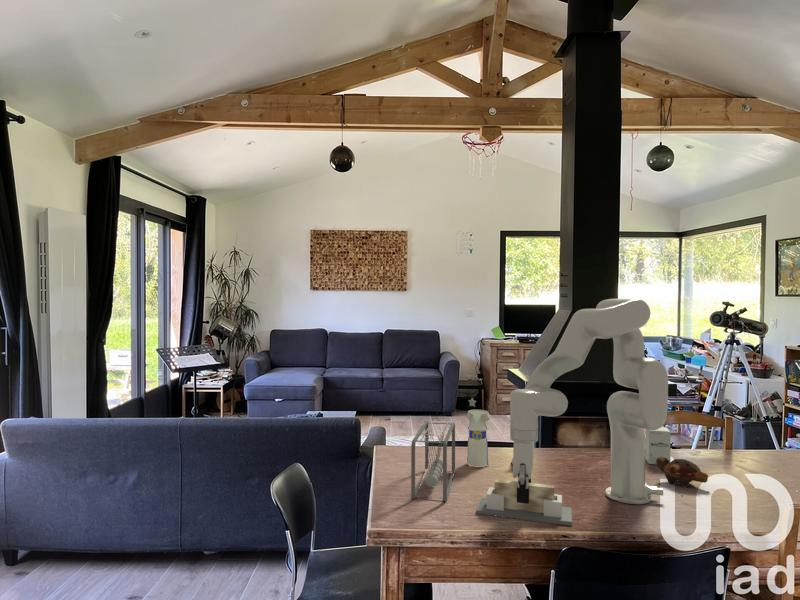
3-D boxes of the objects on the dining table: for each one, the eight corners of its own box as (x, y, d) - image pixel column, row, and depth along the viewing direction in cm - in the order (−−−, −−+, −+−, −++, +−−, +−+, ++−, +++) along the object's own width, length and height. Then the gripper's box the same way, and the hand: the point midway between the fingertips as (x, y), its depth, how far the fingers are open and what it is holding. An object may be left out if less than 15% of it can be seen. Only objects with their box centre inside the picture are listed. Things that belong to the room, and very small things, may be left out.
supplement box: (648, 464, 186) (648, 429, 187) (645, 458, 193) (645, 425, 194) (671, 466, 184) (670, 431, 184) (666, 460, 191) (666, 426, 192)
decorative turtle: (659, 475, 174) (659, 452, 174) (710, 485, 164) (710, 460, 164) (652, 483, 166) (652, 458, 166) (705, 493, 157) (705, 467, 157)
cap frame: (571, 511, 142) (571, 493, 142) (572, 525, 133) (572, 506, 133) (481, 501, 150) (481, 484, 150) (476, 513, 140) (476, 495, 140)
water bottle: (489, 469, 180) (489, 398, 181) (465, 467, 182) (465, 397, 182) (490, 462, 188) (490, 394, 189) (467, 460, 190) (467, 393, 190)
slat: (554, 510, 140) (554, 485, 140) (554, 514, 138) (554, 488, 138) (495, 504, 145) (495, 479, 145) (494, 507, 142) (494, 482, 143)
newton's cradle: (425, 470, 179) (425, 419, 179) (455, 472, 177) (455, 420, 177) (410, 501, 149) (411, 440, 150) (446, 504, 147) (446, 442, 148)
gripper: (513, 426, 151) (513, 484, 151) (507, 440, 135) (507, 506, 134) (539, 428, 149) (539, 487, 148) (536, 443, 132) (536, 509, 132)
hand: (524, 496), depth 141 cm, fingers open, 9 cm apart
